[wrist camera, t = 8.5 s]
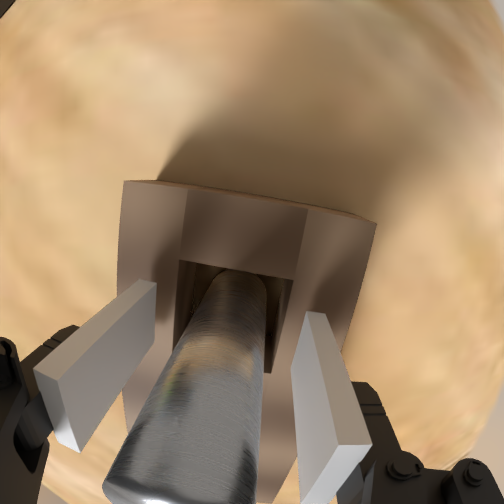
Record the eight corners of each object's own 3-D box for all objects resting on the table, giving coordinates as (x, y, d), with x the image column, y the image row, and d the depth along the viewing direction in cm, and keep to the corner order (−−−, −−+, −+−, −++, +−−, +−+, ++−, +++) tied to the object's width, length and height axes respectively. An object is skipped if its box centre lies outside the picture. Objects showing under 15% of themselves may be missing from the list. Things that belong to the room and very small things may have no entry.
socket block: (155, 180, 14) (124, 180, 11) (352, 213, 14) (376, 223, 11) (149, 445, 19) (136, 476, 16) (272, 469, 19) (271, 503, 15)
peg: (213, 262, 15) (88, 454, 3) (271, 273, 15) (270, 501, 3) (205, 315, 16) (115, 516, 4) (260, 325, 16) (241, 546, 4)
